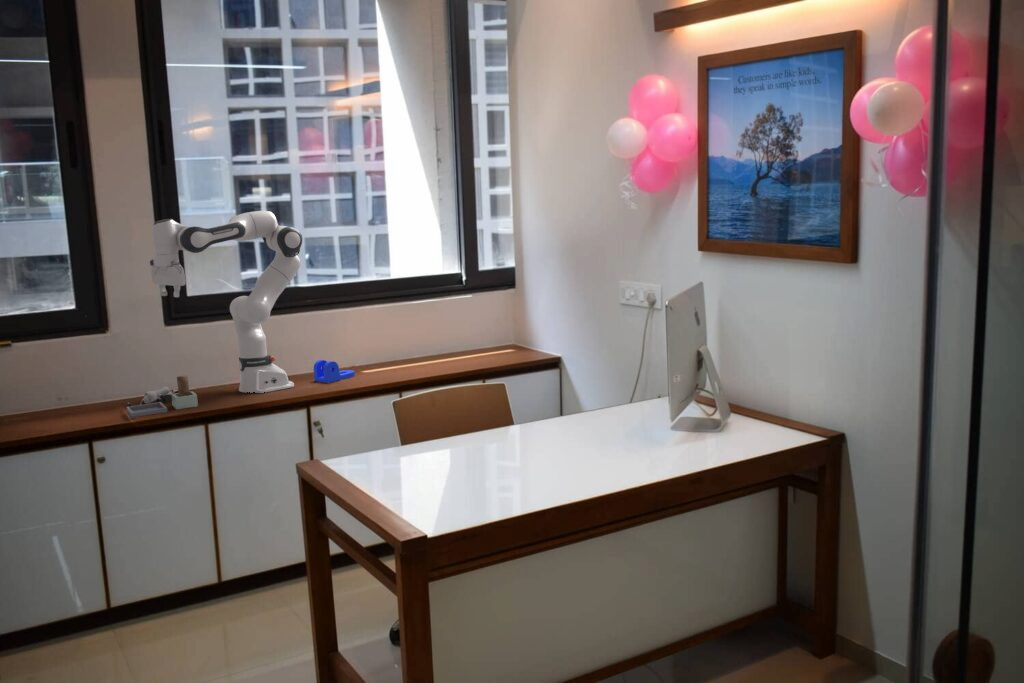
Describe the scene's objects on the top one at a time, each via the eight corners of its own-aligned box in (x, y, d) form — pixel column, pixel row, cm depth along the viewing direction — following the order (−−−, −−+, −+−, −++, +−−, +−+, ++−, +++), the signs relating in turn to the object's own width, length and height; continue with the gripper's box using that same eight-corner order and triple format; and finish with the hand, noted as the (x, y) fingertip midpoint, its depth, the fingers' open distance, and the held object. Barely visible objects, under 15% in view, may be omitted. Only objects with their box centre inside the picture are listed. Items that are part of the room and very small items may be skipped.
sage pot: (193, 404, 365) (192, 391, 364) (198, 408, 358) (196, 394, 357) (172, 407, 361) (171, 394, 360) (176, 411, 354) (175, 397, 353)
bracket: (327, 383, 396) (325, 363, 394) (314, 381, 401) (313, 361, 399) (358, 375, 410) (357, 355, 408) (345, 374, 415) (344, 354, 413)
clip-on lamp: (143, 418, 359) (183, 399, 372) (138, 403, 357) (179, 385, 369) (127, 411, 367) (167, 393, 379) (122, 397, 364) (163, 379, 376)
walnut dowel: (189, 404, 362) (186, 375, 360) (191, 405, 359) (188, 376, 357) (178, 405, 360) (175, 376, 358) (180, 407, 357) (177, 378, 355)
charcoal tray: (161, 408, 361) (160, 402, 361) (167, 414, 350) (167, 408, 350) (127, 413, 355) (126, 407, 354) (132, 419, 344) (131, 413, 344)
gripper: (188, 261, 357) (191, 297, 359) (161, 259, 370) (165, 294, 373) (172, 262, 352) (176, 298, 354) (146, 261, 366) (150, 296, 368)
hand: (170, 296), depth 364 cm, fingers open, 8 cm apart
